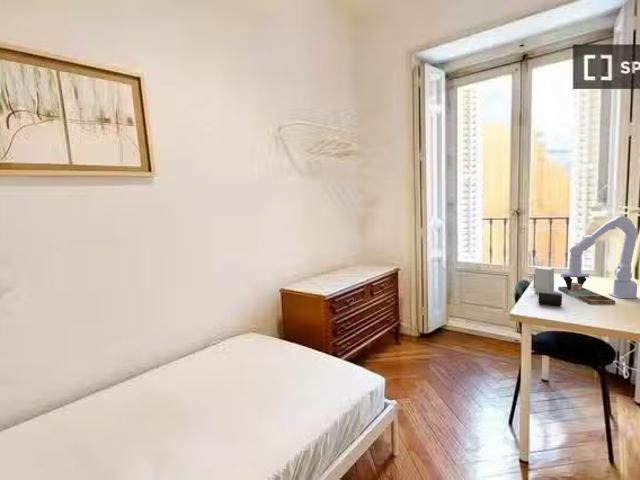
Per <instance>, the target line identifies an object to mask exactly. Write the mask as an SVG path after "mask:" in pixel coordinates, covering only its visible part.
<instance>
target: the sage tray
mask: <svg viewBox="0 0 640 480" xmlns="http://www.w3.org/2000/svg"><path fill="white" fill-rule="evenodd" d="M567 295H568V296H571V297H573V298H575V299H577V300H579V296H603V295H602V294H600V293H598V292H595V291H592V290H590V291H568V294H567Z"/></svg>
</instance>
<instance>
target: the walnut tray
mask: <svg viewBox="0 0 640 480" xmlns="http://www.w3.org/2000/svg"><path fill="white" fill-rule="evenodd" d="M578 300H579V301H581V300H582V302H584V303H586V304H588V305H616V300H615V299H613V298H610V297H608V296H605V295H602V296H579V299H578Z"/></svg>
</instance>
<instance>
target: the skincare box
mask: <svg viewBox="0 0 640 480" xmlns="http://www.w3.org/2000/svg"><path fill="white" fill-rule="evenodd" d="M534 274H535V287H534V293H535V294H539V291H547V292H552V293H553V292H555V268H554V267H545V266H544V267H543V266H537V267H535V268H534Z"/></svg>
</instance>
